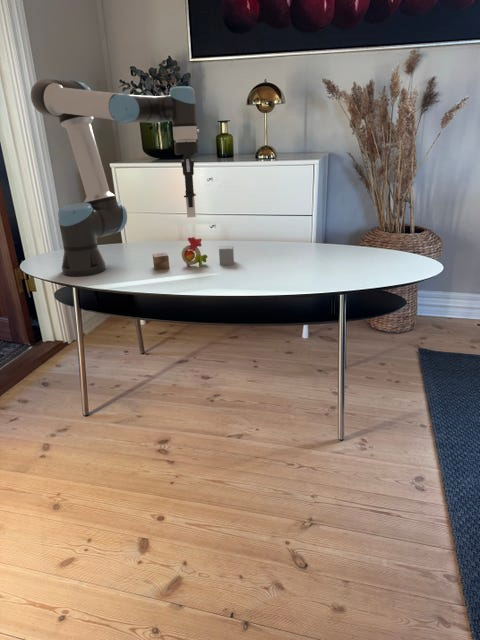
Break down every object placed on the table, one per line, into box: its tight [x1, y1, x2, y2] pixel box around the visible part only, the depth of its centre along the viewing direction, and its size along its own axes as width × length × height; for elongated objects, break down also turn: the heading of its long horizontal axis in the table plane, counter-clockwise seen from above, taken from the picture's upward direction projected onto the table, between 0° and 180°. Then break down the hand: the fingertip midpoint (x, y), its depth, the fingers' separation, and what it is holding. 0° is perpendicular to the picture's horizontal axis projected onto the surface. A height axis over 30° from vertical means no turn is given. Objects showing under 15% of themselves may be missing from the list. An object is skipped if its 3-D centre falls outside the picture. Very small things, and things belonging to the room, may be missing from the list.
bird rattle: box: [181, 236, 208, 268], centre depth 174 cm, size 6×11×9 cm
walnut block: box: [152, 252, 170, 271], centre depth 174 cm, size 5×5×5 cm
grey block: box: [218, 245, 235, 266], centre depth 177 cm, size 5×5×6 cm
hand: (191, 216), depth 159 cm, fingers closed
